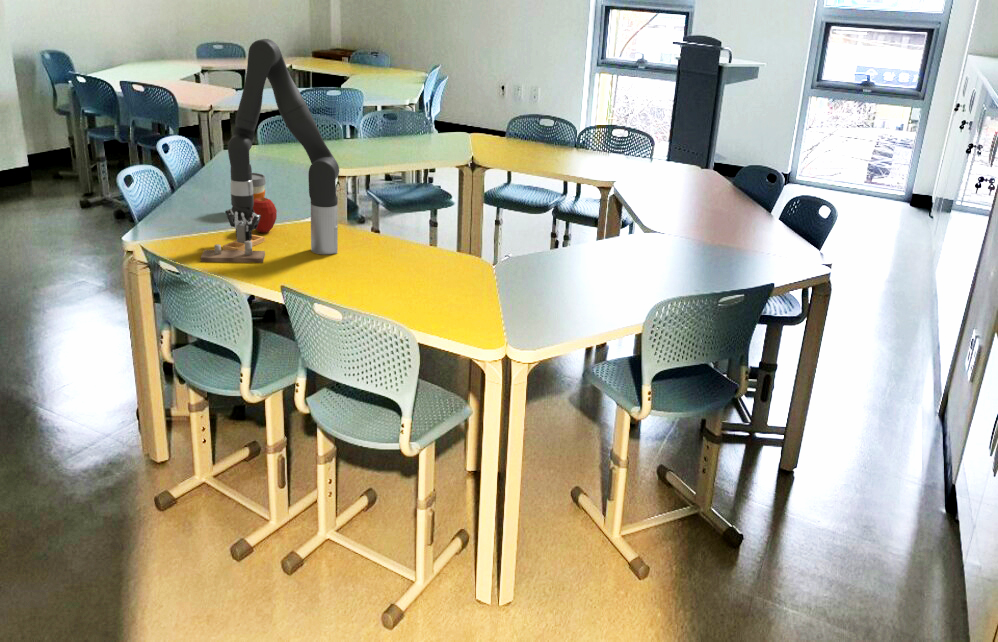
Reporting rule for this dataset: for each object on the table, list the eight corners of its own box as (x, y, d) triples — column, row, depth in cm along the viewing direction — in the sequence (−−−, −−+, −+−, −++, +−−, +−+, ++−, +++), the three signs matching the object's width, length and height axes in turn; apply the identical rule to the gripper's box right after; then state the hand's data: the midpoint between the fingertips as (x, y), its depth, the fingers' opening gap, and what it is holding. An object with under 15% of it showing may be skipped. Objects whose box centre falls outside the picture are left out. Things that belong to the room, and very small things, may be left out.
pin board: (265, 255, 294) (264, 238, 292) (262, 262, 287) (262, 245, 284) (204, 253, 290) (203, 237, 288) (201, 261, 283) (199, 244, 281)
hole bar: (250, 238, 309) (250, 218, 306) (264, 241, 308) (264, 221, 305) (222, 249, 295) (221, 229, 293) (237, 252, 294) (236, 232, 291)
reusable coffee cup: (258, 207, 346) (256, 171, 341) (272, 215, 338) (271, 178, 332) (228, 211, 339) (226, 174, 333) (242, 219, 330) (240, 181, 324)
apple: (246, 228, 320) (244, 192, 314) (273, 226, 324) (272, 191, 319) (252, 236, 311) (251, 199, 306) (280, 234, 316) (279, 198, 311)
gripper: (218, 191, 293) (220, 239, 300) (252, 197, 289) (254, 246, 295) (231, 186, 299) (234, 233, 306) (265, 193, 295) (267, 240, 302)
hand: (244, 239), depth 301 cm, fingers closed on hole bar, 3 cm apart
